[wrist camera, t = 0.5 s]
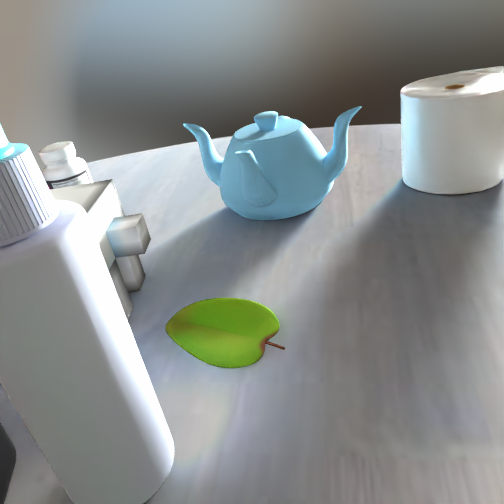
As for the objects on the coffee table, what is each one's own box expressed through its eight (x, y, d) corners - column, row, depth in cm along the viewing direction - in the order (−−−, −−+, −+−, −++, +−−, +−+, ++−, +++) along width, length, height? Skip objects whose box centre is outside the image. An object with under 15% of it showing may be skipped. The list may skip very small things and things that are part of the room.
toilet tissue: (396, 196, 51) (393, 102, 46) (408, 156, 60) (407, 75, 55) (507, 195, 47) (518, 92, 42) (502, 153, 56) (510, 64, 51)
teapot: (300, 168, 63) (289, 90, 58) (373, 199, 51) (368, 103, 46) (201, 203, 59) (180, 122, 54) (256, 247, 46) (236, 146, 41)
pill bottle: (66, 215, 63) (37, 145, 58) (105, 206, 64) (80, 136, 59) (59, 232, 58) (27, 158, 54) (102, 222, 59) (74, 147, 54)
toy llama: (155, 320, 39) (66, 65, 29) (-42, 347, 40) (-189, 114, 31) (170, 272, 45) (102, 50, 35) (0, 296, 47) (-110, 91, 37)
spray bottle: (51, 482, 27) (-194, 84, 16) (134, 410, 30) (-19, 47, 20) (110, 546, 23) (-157, 81, 12) (198, 455, 27) (51, 36, 16)
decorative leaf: (198, 396, 31) (194, 386, 30) (161, 322, 38) (157, 314, 38) (297, 343, 33) (295, 334, 32) (245, 283, 40) (242, 274, 40)
